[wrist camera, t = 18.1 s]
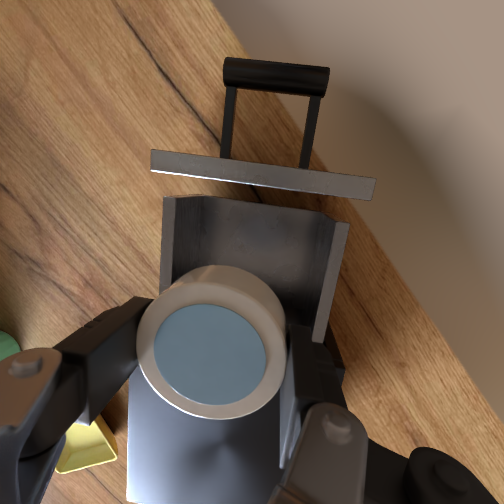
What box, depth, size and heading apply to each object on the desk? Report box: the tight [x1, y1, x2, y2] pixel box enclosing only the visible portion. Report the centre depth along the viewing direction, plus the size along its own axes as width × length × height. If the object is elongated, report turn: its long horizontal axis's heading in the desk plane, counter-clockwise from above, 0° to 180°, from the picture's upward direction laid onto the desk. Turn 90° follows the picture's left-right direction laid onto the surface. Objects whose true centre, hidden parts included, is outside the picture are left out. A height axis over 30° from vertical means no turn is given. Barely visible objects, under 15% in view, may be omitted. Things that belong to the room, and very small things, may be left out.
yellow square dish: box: [55, 414, 118, 474], centre depth 30 cm, size 9×9×2 cm
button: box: [136, 265, 288, 420], centre depth 10 cm, size 5×5×2 cm
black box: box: [127, 321, 346, 504], centre depth 22 cm, size 15×14×9 cm
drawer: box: [150, 57, 376, 343], centre depth 19 cm, size 20×12×7 cm, turn 172°
